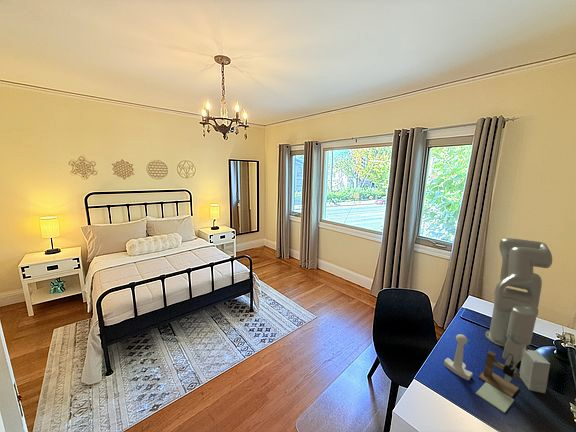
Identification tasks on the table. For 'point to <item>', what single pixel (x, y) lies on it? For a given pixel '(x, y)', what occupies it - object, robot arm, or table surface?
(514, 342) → the robot arm
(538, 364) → the skincare box
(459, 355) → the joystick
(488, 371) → the stand
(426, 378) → the table surface
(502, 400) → the mat
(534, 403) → the table surface
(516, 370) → the grey u-shaped block
